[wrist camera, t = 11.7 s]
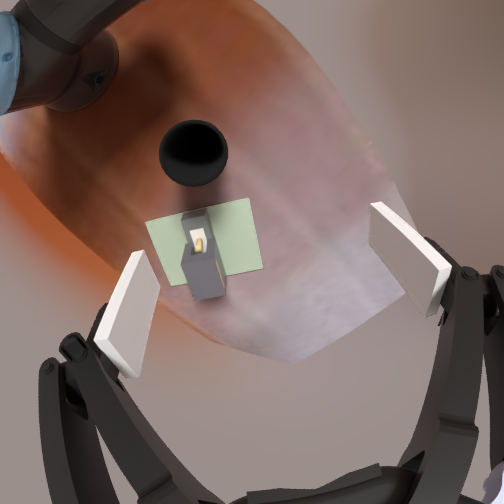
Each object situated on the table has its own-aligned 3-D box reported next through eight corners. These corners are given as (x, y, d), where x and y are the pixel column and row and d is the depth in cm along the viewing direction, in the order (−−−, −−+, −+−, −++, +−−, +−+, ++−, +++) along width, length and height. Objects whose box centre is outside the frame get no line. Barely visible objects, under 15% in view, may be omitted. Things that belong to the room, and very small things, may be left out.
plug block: (185, 243, 43) (180, 264, 38) (215, 237, 43) (214, 257, 38) (197, 277, 47) (194, 300, 42) (225, 272, 47) (225, 295, 42)
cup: (205, 172, 41) (197, 199, 30) (167, 143, 37) (145, 160, 27) (238, 136, 38) (242, 149, 28) (199, 104, 35) (189, 106, 25)
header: (145, 221, 44) (135, 240, 38) (248, 197, 43) (252, 213, 38) (171, 285, 51) (166, 307, 46) (262, 267, 51) (267, 288, 46)
